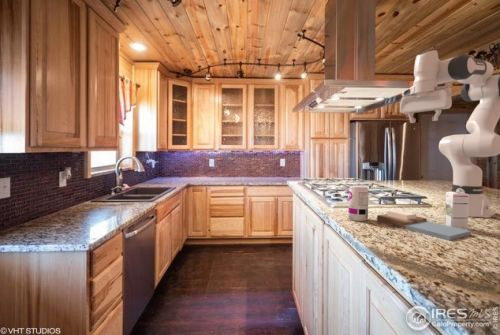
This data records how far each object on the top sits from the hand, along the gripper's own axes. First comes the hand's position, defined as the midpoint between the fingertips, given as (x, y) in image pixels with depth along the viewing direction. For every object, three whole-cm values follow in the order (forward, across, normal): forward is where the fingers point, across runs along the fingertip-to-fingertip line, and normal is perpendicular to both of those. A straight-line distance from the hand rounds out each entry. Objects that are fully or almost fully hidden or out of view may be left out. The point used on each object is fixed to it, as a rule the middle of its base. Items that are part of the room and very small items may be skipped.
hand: (423, 121), depth 119 cm
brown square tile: (+44, +1, +10) cm, 45 cm away
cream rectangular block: (+41, +1, +10) cm, 43 cm away
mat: (+44, -13, +10) cm, 47 cm away
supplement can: (+44, +14, +22) cm, 51 cm away
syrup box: (+44, -14, 0) cm, 46 cm away
